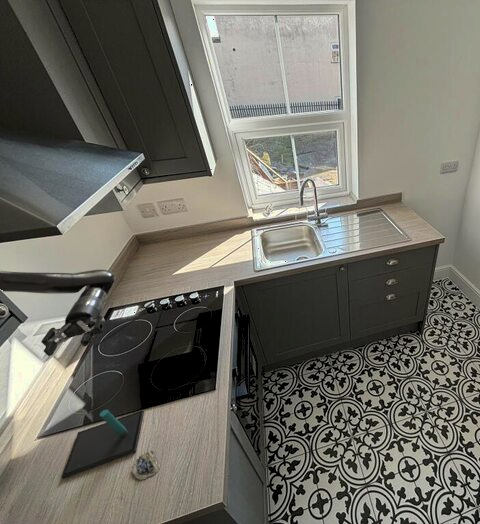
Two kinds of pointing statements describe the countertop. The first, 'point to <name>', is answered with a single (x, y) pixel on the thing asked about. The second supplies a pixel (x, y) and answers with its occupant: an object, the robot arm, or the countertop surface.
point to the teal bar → (113, 422)
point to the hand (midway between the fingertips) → (66, 349)
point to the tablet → (103, 445)
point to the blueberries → (145, 466)
